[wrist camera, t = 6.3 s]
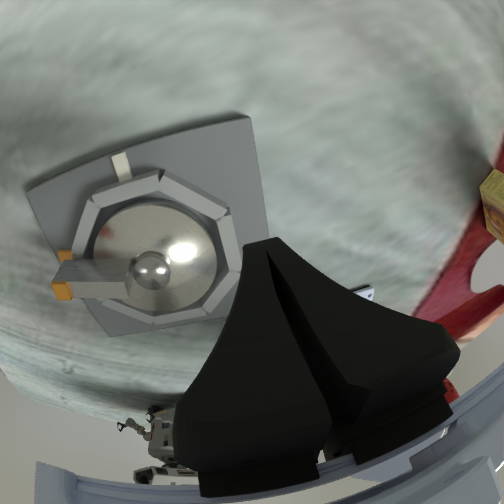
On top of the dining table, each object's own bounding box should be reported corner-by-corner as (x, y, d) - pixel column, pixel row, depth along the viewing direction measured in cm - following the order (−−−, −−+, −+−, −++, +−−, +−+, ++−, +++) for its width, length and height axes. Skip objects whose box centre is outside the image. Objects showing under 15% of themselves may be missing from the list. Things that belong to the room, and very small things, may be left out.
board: (275, 296, 25) (281, 313, 24) (111, 329, 24) (107, 346, 23) (248, 116, 16) (254, 119, 14) (31, 187, 15) (17, 199, 13)
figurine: (163, 376, 30) (166, 489, 18) (215, 404, 37) (229, 494, 25) (119, 392, 32) (115, 487, 20) (172, 417, 38) (178, 497, 26)
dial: (217, 197, 18) (221, 227, 14) (214, 298, 23) (219, 337, 19) (60, 204, 16) (33, 234, 12) (87, 298, 21) (74, 335, 17)
